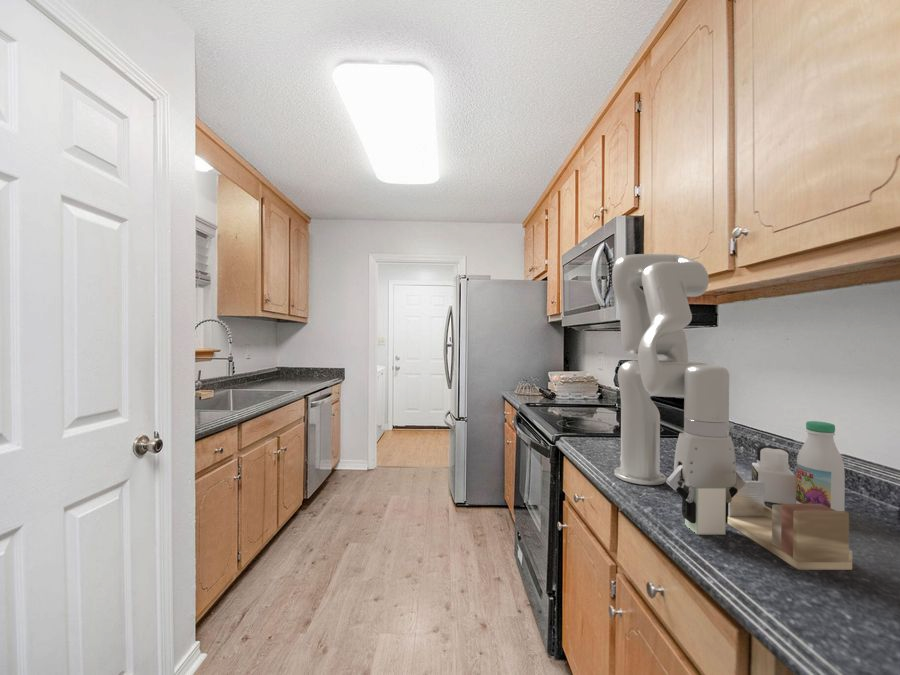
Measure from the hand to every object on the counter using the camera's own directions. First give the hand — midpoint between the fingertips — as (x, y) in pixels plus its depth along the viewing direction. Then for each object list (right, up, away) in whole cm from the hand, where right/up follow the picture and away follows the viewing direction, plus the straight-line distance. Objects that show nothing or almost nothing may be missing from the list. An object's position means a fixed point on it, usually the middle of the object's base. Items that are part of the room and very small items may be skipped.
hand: (704, 519), depth 81 cm
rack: (+11, -2, -2) cm, 11 cm away
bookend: (+11, -1, +6) cm, 12 cm away
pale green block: (0, -2, 0) cm, 2 cm away
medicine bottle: (+26, -2, +16) cm, 31 cm away
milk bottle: (+28, -3, +7) cm, 29 cm away
